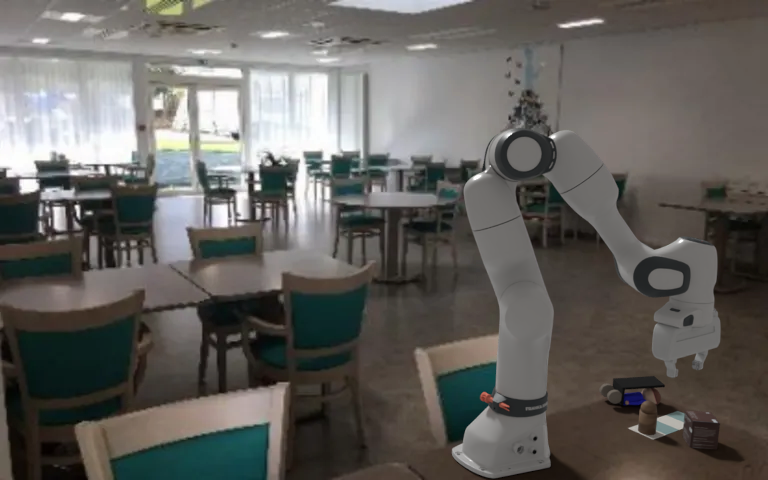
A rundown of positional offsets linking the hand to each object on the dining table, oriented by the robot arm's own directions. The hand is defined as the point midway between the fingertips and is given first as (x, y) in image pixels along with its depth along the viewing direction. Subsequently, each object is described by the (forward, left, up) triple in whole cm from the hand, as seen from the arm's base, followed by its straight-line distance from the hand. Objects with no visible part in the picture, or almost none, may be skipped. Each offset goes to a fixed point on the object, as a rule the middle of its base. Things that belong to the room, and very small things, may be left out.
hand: (684, 372), depth 146 cm
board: (+10, +10, -19) cm, 24 cm away
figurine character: (+14, +23, -20) cm, 33 cm away
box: (+8, 0, -20) cm, 21 cm away
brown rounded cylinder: (+3, +10, -18) cm, 21 cm away
